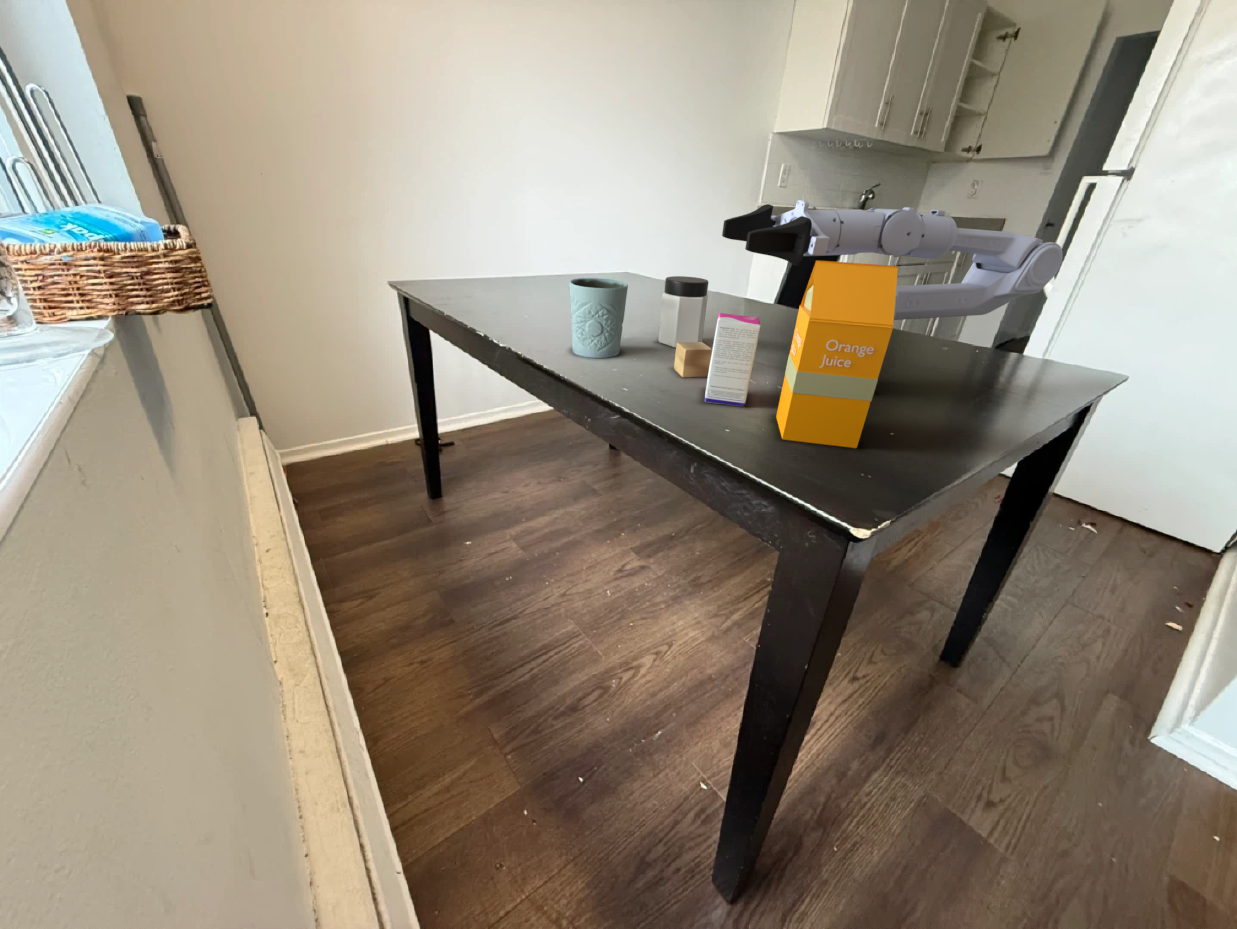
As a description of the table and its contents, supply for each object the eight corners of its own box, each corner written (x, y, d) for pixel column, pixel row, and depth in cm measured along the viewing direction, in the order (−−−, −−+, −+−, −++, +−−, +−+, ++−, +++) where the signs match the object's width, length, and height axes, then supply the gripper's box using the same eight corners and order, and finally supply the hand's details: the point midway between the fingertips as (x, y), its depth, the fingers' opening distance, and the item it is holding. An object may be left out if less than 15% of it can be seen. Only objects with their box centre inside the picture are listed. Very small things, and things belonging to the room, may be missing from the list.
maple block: (699, 368, 86) (702, 342, 84) (708, 376, 82) (712, 349, 80) (673, 368, 85) (676, 342, 83) (682, 377, 81) (685, 349, 79)
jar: (695, 337, 105) (703, 276, 100) (708, 348, 98) (716, 283, 92) (653, 337, 104) (658, 275, 98) (663, 348, 97) (669, 282, 91)
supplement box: (746, 407, 70) (761, 324, 65) (703, 402, 71) (715, 320, 66) (745, 394, 76) (759, 315, 70) (705, 389, 76) (716, 311, 71)
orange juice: (857, 448, 60) (911, 270, 51) (781, 439, 61) (820, 264, 52) (843, 423, 67) (888, 262, 58) (775, 416, 68) (809, 256, 59)
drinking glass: (599, 341, 98) (601, 276, 93) (636, 354, 92) (640, 284, 86) (557, 349, 92) (557, 280, 86) (593, 363, 86) (595, 289, 80)
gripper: (807, 192, 73) (718, 192, 70) (869, 210, 61) (766, 211, 59) (795, 244, 77) (711, 246, 74) (851, 270, 65) (754, 274, 63)
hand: (735, 235), depth 67 cm, fingers open, 7 cm apart
